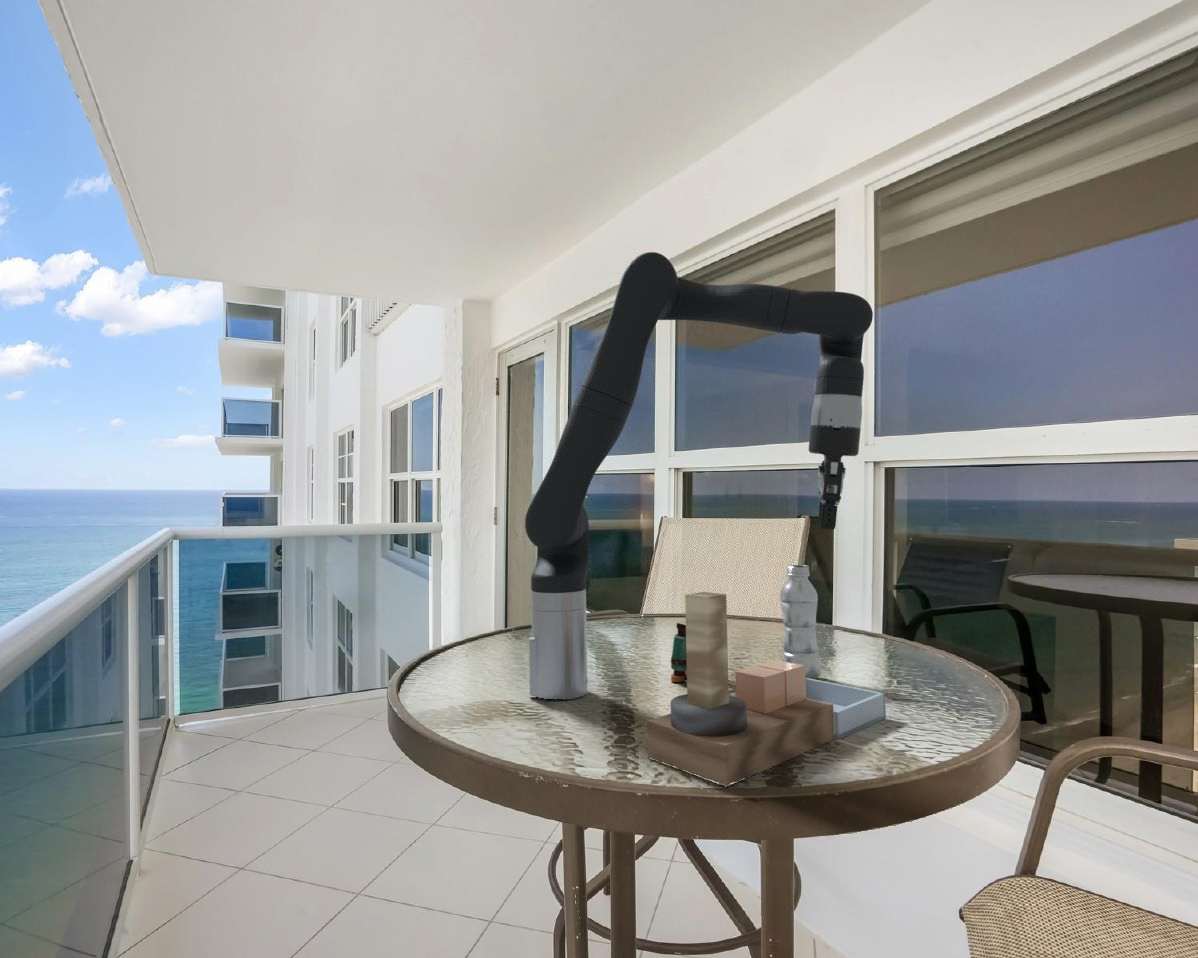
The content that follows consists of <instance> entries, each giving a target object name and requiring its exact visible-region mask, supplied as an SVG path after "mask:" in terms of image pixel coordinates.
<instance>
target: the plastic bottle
mask: <svg viewBox="0 0 1198 958" xmlns="http://www.w3.org/2000/svg"><path fill="white" fill-rule="evenodd" d="M786 568H787V570H786V577H788V578H787V581H786V582H785V583H784V585H783V586H782V587H781V589H780V592H779V601H780V607H781V613H782V620H783V625H784V627H783V629H784V631H783V632H784V635H783V639H784V640H783V652H782V656H781V657H782V659H781V661H784V662H789V663H795V664H800V665H805V678H810V679H817V678H818V677H819V676H820V674H821V670H822V663H821V657H820V656H821V655H820V653H819V648H818V647H819V646H818V640H817V639H818V638H817V628H816V626H817V611H818V601H819V600H818V597H819V596H818V592H817V590H816V589H815V587H814V585H813V584H812V583H811V582H810V580H809V577H810V576H811V575H810V574H811V573H810V567H809V565H804V564H794V565H793V564H790V565H787V567H786Z"/></svg>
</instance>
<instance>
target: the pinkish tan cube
mask: <svg viewBox="0 0 1198 958" xmlns="http://www.w3.org/2000/svg"><path fill="white" fill-rule="evenodd" d="M734 673H735V674H734V675H735V677H734V678H735V694H736V697H737V698H740V699H742V700H743V701H745V702H746V707H747V709H749V710H753V711H757V712H761V713H765V714H766V713H768V712H771V711H774V710H777V709H780V708H782V707H785V706H786V702H785V671H780V670H775V669H770V668H765V667H760V666H757V665H753V666H750V667H746V668H743V669H739V670H735V672H734Z"/></svg>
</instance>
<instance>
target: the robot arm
mask: <svg viewBox="0 0 1198 958" xmlns="http://www.w3.org/2000/svg"><path fill="white" fill-rule="evenodd" d="M873 313H874V312H873V309H872V307H871V305H870V303H869V302H868V300H866V299H865V298H864V297H862V296H860V295H857V294H855V293H850V292H845V291H834V290H833V291H830V290H824V291H823V290H820V291H819V290H811V291H809V290H807V291H806V290H805V291H804V290H800V289H799V290H798V289H795V288H789V287H783V286H776V285H769V284H761V283H759V284H758V283H741V284H740V283H739V284H722V285H720V284H718V285H717V284H709V283H708V284H707V283H699V282H696V281H691V280H688V279H684V278H682V277H680V276H678V275H677V271H676V269H675V267H674V266H673V264H672V262H671V261H670V259H668V258H667V257H666V256H665V255H664V254H662V253H659V252H654V251H649V252H643V253H641V254H639V255H637V256H636V257H635V258H633V259H632V260H631V261H630V262H629V263H628V264H627V266H626V267H625V268H624V270H623V272H622V275H621V277H620V281H619V284H618V288H617V292H616V296H615V300H614V302H613V306H612V309H611V313H610V316H609V320H608V323H607V325H606V327H605V328H606V329H605V330H604V333H603V335H602V338H601V339H600V342H599V344H598V346H597V348H596V349H595V352H594V354H593V356H592V358H591V362H590V364H589V366H588V369H587V371H586V373H585V376H584V378H583V380H582V382H581V385H580V387H579V388H578V391H577V394H576V396H575V399H574V401H573V404H572V407H571V410H570V412H569V416H568V418H567V421H566V423H565V426H564V428H563V431H562V434H561V437H560V439H559V442H558V445H557V448H556V452H555V454H554V457H553V459H552V461H551V464H550V467H549V468H548V470H547V472H546V473H545V475H544V477H543V480H542V482H540V483H541V484H540V485H539V487H538V490H537V491H536V493H535V495H534V497H533V499H531V503H530V504H529V506H528V509H527V511H526V514H525V518H524V519H525V520H524V528H525V532H526V533H525V534H526V535H527V537H528V539H529V540H530V542H531V544H533V546H536V547H537V548H536V550H537V551H536V555H537V556H536V563H535V567H534V569H533V572H532V573H531V577H530V591H531V593H530V594H531V595H530V598H531V599H530V601H531V602H530V604H531V637H530V638H529V639H528V641H529V642H528V644H529V645H528V646H529V647H528V649H529V650H528V653H529V654H528V655H529V656H528V657H529V658H528V659H529V662H528V663H529V666H528V667H529V696H530V695H531V696H537V697H540V698H539V699H541V698H544V699H543V700H546V699H555V700H554V701H557V700H556V699H563V700H562V701H564V700H565V699H567V700H573V699H578V698H581V697H583V696H585V695H587V694H588V682H589V681H588V679H589V678H588V645H587V644H588V643H587V641H588V639H587V637H588V636H587V634H588V633H587V629H588V627H587V584H586V583H587V574H588V573H589V572H588V571H589V562H590V561H589V557H590V556H589V555H590V553H589V552H590V549H589V547H590V534H589V533H590V528H589V527H590V526H589V517H588V513H587V511H586V508H585V507H584V502H585V498H586V495H587V493H588V491H589V487H590V485H591V482H592V480H593V478H594V476H595V474H596V472H597V471H598V469H599V468H600V466H601V464H603V462H604V460H605V459H606V458H607V456H608V454H609V453H610V452H611V450H612V449H613V447H614V446H615V444H616V442H617V441H618V439H619V438H620V435H621V433H622V432H623V429H624V426H625V425H626V422H627V420H628V418H629V415H630V413H631V411H632V407H633V405H634V402H635V400H636V396H637V392H638V390H639V389H638V388H639V384H640V381H641V375H642V371H643V365H644V360H645V354H646V350H647V346H648V343H649V341H650V338H651V336H652V333H653V332H654V329H655V327H656V324H657V323H658V321H696V322H697V321H698V322H710V323H717V324H727V325H732V326H738V327H744V328H751V329H756V330H760V331H761V330H762V331H767V332H773V333H778V334H780V333H781V334H785V335H797V334H801V333H807V334H813V335H818V361H819V363H818V369H817V374H816V384H815V392H814V393H815V396H814V401H813V404H812V409H811V417H810V419H811V420H810V431H809V441H808V442H809V444H808V452H809V453H811V454H816V455H817V454H818V455H820V454H821V455H823V457H824V459H823V460H822V462H821V464H820V465H818V466H817V467H818V468H817V476H818V480H817V490H818V499H819V509H818V519H817V520H818V521H817V522H818V523H819V526H820V528H821V529H823V530H835V529H836V525H837V514H838V506H839V504H840V502H841V500H842V496H841V494H842V493H843V490H844V480H845V476H846V467H845V465H844V462H843V461H842V457H856V456H858V455H859V450H860V440H861V439H860V438H861V429H862V428H861V427H862V417H863V402H862V401H863V398H862V397H863V389H864V377H865V374H864V373H865V370H864V369H865V368H864V364H863V362H862V356H863V355H862V354H863V344H864V336H865V334H866V332H867V331H868V330H869V328H870V327H871V325H872V321H873V318H874V317H873V315H874V314H873ZM565 701H566V700H565Z"/></svg>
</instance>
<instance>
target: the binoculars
mask: <svg viewBox="0 0 1198 958" xmlns="http://www.w3.org/2000/svg"><path fill="white" fill-rule="evenodd" d="M676 629H677V633H676V634H674V637H673V644H672V651H671V652H672V653H671V657H670V668H671V669H672V670H673V673H672V674H671V676H670V681H671V682H673V683H676V682H677V683H684V682H685V681H686V682H687V656H686V624H683V623H679V622H676Z"/></svg>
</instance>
